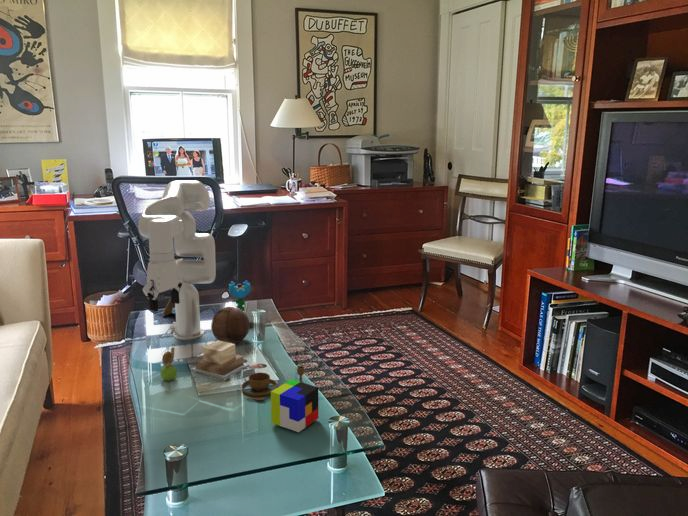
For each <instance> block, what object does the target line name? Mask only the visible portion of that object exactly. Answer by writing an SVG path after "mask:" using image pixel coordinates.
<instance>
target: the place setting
mask: <svg viewBox="0 0 688 516" xmlns="http://www.w3.org/2000/svg"><path fill="white" fill-rule="evenodd" d="M296 372H297V375H298V376H299V378H298V381H299V382H302V383H303V375H304V374H305V366H304V365H298V366H297V368H296ZM270 384H271V385H273V386H274V388H273V389H267V388H268V387H269V386H270ZM248 386H250V387H249V388H251V389H253V390H254V391H256V392H252V391H247V390H245V388H246V387H248ZM276 388H278V383H277V381H276V380H274V379H271V376H270V375H269V374H268V373H267V372H255V373H252V374H250V375H249V376H248V379H247V380H246V381H244V382H243V383H242V384H241V391H242V392H243V393H244V394H246V395H248V396H251V397H246V398H245V400H255V401H263V400H265V399H266V397H265V396H269V395H271V391H273V390H274V389H276Z"/></svg>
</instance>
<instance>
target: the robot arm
mask: <svg viewBox="0 0 688 516" xmlns="http://www.w3.org/2000/svg"><path fill="white" fill-rule="evenodd" d="M164 188H165V189H164V191H163V193H162V197H161V199H158V200H156V201H154V202H152V203H151V204H149V205H147V206H146V207H144V208H143V210H142V212H141V214H140V216H139V219H138V224H137V225H138V226H137V227H138V232H139V234H140V236H142V237H143V238H148V245H149V262H148V264H147V271H146V284H145V285H144V286H143V288H142V292H143V294H144V297H146V298H147V299H148V301H149V302H148V303H149V311H153V312H158V311H159V300H158V299H157V298H158V296H159V294H160V293H164V292H167V291H170V290H171V291H170V298H171V302H172V303H174V309H175V310H174V311H175V321H173V322H172V324H171V325H170V327H169V328H170V329H174V331H173V332H172V337H173V338H174V339H176V340H181V341H182V340H183V341H187V340H195V339H198V338H200V337H202V336H204V335H205V330H204V329H203V328H202V327H201V315H200V313H201V312H200V296H199V292H198V290H197V289H198V288H196V287H195V285H197V284H200V285H201V284H202V285H203V284H212V283H213V282H215V280H216V276H217V275H216V271H217V268H216V266H217V265H216V243H215V238H214V237H213V235H212V234H211V233H208V232H207V233H206V232H202V233H201V232H200V233H199V232H197V231H196V229H197V227H196V224H197V223H196V219H195V218H194V216H193V215H192V214H191V212H206V211H207V210H208V209H209V208H210V204H211V198H210V193H209V192H208V189H207V187H206V186H205V185H204V183H203V182H201V181H199V180H173V181H170V182H169V183H167V184H166V186H165V187H164ZM175 254H176V255H177V256H178V257H182V258H186V257H187V258H188V257H189V258H190V257H194V258H195V257H196V258H197V257H199V258H200V257H201V258H203V259H198V260H197V259H187V260H186V259H183V260H181V261H177V262H175V260H176V259H175Z"/></svg>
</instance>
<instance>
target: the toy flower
mask: <svg viewBox="0 0 688 516" xmlns="http://www.w3.org/2000/svg"><path fill="white" fill-rule="evenodd" d="M228 288H229V289H228V290H229V294H231V296H233V298H236V299H235V304H236V306H235V307H236V308H239V309H241V310H242V311H243V312H245V306H244V305H246V304H245V303H246V301H245V300H243V298H246V297H247V295H249V293H251V283H250V282H249V281H248V280H245V281H244V282H242V283H237V284H236V282H234V280H233V281H230V283H229V284H228Z"/></svg>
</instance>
